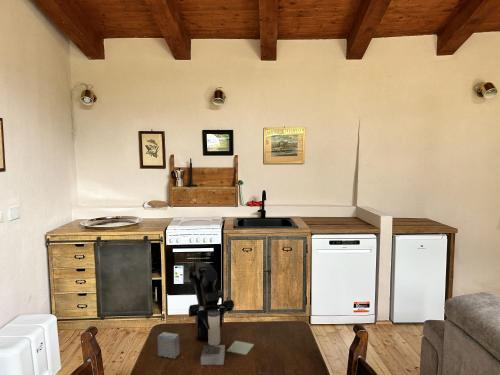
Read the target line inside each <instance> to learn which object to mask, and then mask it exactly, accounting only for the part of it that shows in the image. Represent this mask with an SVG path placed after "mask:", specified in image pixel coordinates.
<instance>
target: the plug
mask: <svg viewBox="0 0 500 375" xmlns="http://www.w3.org/2000/svg"><path fill="white" fill-rule="evenodd" d="M208 324H209V329H208V342H207V343H208V345H220V343H221V328H220V310H219V309H211V310H209V311H208Z"/></svg>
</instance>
